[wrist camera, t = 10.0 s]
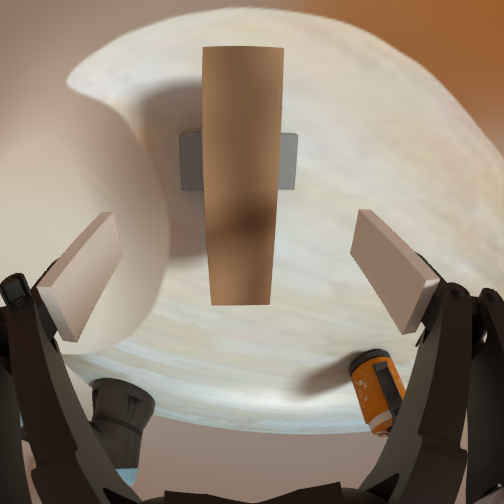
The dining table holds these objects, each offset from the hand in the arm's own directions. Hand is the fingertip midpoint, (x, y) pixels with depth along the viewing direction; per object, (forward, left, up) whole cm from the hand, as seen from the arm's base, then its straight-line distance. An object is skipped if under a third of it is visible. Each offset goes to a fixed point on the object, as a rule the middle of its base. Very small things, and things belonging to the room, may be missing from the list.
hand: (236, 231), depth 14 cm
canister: (+26, -36, -17) cm, 48 cm away
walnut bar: (0, 0, -10) cm, 10 cm away
